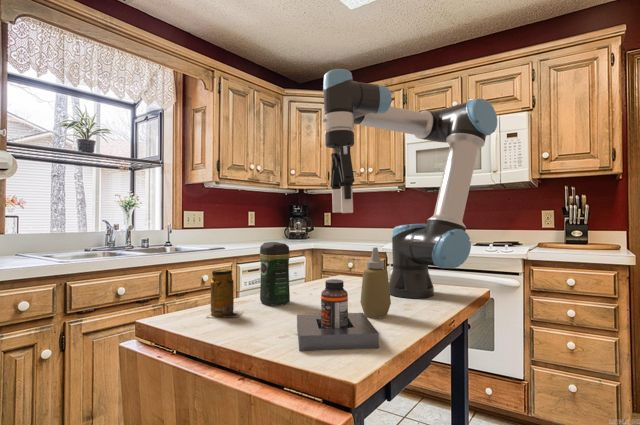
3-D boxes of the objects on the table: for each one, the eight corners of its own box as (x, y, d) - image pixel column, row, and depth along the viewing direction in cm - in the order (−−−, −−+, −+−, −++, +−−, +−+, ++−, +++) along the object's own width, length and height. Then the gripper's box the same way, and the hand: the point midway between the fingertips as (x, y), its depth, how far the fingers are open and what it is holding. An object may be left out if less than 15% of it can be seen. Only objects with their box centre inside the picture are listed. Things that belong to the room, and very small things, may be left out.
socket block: (363, 325, 93) (362, 312, 93) (378, 348, 77) (378, 333, 77) (297, 327, 92) (296, 314, 92) (299, 351, 76) (299, 335, 76)
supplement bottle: (315, 331, 86) (315, 280, 86) (336, 326, 89) (336, 277, 89) (332, 337, 81) (332, 284, 81) (353, 332, 84) (353, 280, 84)
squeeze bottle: (388, 321, 97) (387, 249, 97) (356, 318, 99) (356, 248, 99) (393, 313, 104) (393, 246, 104) (364, 310, 107) (363, 246, 107)
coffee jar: (293, 304, 115) (293, 242, 115) (269, 307, 111) (269, 243, 111) (279, 298, 124) (279, 240, 124) (256, 301, 119) (256, 241, 119)
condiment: (213, 311, 108) (213, 268, 108) (243, 311, 108) (243, 268, 108) (205, 318, 101) (205, 272, 101) (238, 318, 101) (237, 272, 101)
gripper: (319, 140, 112) (321, 212, 113) (333, 120, 88) (336, 213, 88) (344, 139, 113) (346, 211, 114) (365, 120, 89) (368, 212, 89)
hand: (342, 212), depth 101 cm, fingers open, 13 cm apart
